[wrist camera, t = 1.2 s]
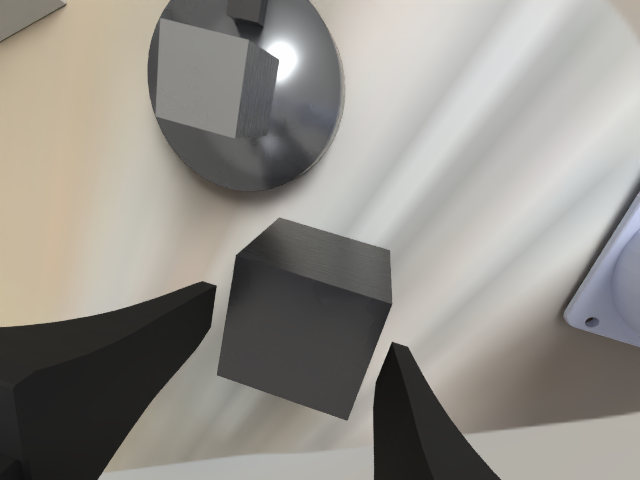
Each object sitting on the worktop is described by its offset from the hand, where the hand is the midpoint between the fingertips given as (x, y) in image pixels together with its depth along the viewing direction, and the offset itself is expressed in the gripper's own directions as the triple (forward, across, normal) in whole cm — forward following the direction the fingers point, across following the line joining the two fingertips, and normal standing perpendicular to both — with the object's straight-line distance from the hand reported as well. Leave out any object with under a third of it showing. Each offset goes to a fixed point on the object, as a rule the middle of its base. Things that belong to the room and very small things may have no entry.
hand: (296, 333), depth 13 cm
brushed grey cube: (+4, 0, 0) cm, 4 cm away
